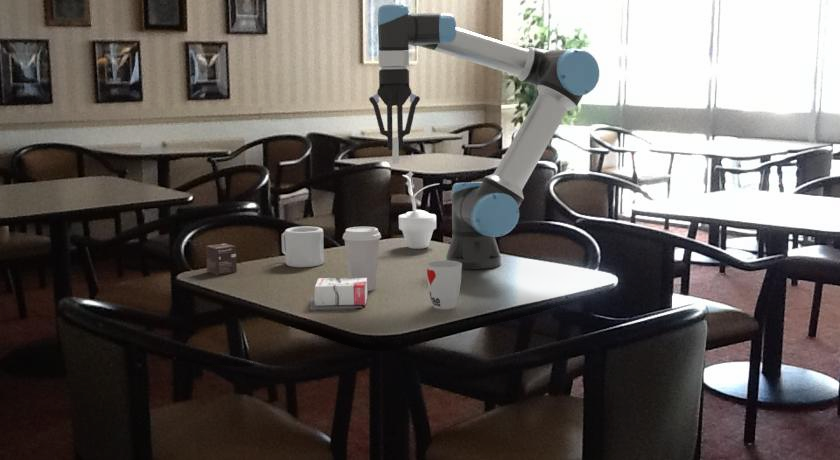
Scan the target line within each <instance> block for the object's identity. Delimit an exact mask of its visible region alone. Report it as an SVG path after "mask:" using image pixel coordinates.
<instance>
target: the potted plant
mask: <svg viewBox="0 0 840 460" xmlns="http://www.w3.org/2000/svg"><path fill="white" fill-rule="evenodd" d="M413 175H414V173H413V172H412V169H411V168H409V172H408V173H406V174H402V175H401V176H402V177H404V178H405V179H406V182H405V185H406V186H407V192H408V194H409V196H410V197H411V199H410V202H411V205H412V211H407V212H405V213H402V214H399V215H398V229H399V231H402V234H403V238H404V240H405V243H406V246H407V248H408V249H413V250H414V249H416V250H421V249H425V248H428V247H429V246H430V242H431V239H432V236H433V232H434V230H436V229H437V215H436V214H435V213H429V211H426V210H422V209H417V202H416V196H417V195H418V193H420V192H421V191H422V190H425V189H427V188H430V187H433V186H437V185H438V186H439V185H440V183H433V184H429V185H426V186H424V187H422V188H420V189H419V190H418V191H417V192H415V193H414V192H413V189H414V187H415V184H412V176H413Z"/></svg>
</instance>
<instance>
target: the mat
mask: <svg viewBox="0 0 840 460" xmlns="http://www.w3.org/2000/svg"><path fill="white" fill-rule="evenodd" d="M355 308H362V309H363V305H329V306H315V297H311V299H310V304H309V311H329V310H335V311H336V310H356V309H355Z"/></svg>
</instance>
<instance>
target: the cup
mask: <svg viewBox="0 0 840 460" xmlns="http://www.w3.org/2000/svg"><path fill="white" fill-rule="evenodd" d="M462 271H463V269H462V263H460V262H457V261H446V260H433V261H429V262H427V263H426V280H427V286H428V288H427V289H428V292H429V293H428V294H429V297H430V300H431V301H430V302H431V303H432V306H433V309H437V310H451V309H455V308H456V305H457V302H458V298H459V295H460V288H461V283H462Z"/></svg>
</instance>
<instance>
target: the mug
mask: <svg viewBox="0 0 840 460" xmlns="http://www.w3.org/2000/svg"><path fill="white" fill-rule="evenodd" d="M324 251H325V250H324V229H323V228H322V227H319V226H308V225H307V226H305V225H304V226H303V225H302V226H292V227H289V228H286V229H285V231H284V232H283V233H281V252H282V254H284V255H285V264H286V265H287V266H288V267H293V268H314V267H318V266H321V265H323V264H324V262H325V253H324Z"/></svg>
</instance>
